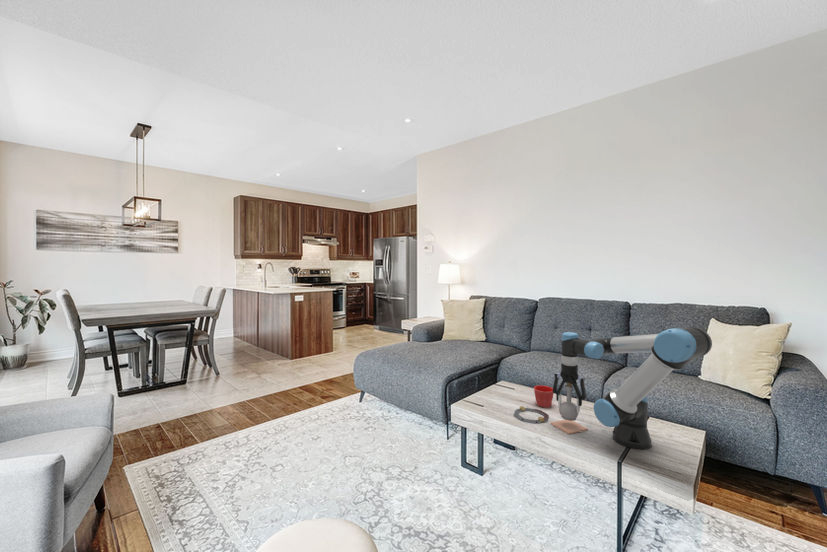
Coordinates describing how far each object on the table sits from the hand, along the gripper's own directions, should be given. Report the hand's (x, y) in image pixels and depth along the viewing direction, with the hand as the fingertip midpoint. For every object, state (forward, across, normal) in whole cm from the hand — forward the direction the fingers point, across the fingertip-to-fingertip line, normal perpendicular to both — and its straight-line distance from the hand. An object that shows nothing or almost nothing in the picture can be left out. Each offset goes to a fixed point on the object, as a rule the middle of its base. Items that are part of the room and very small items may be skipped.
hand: (568, 409), depth 175 cm
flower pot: (+9, +19, -20) cm, 29 cm away
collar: (+9, +19, -1) cm, 21 cm away
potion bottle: (+4, 0, 0) cm, 4 cm away
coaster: (+9, 0, 0) cm, 9 cm away
